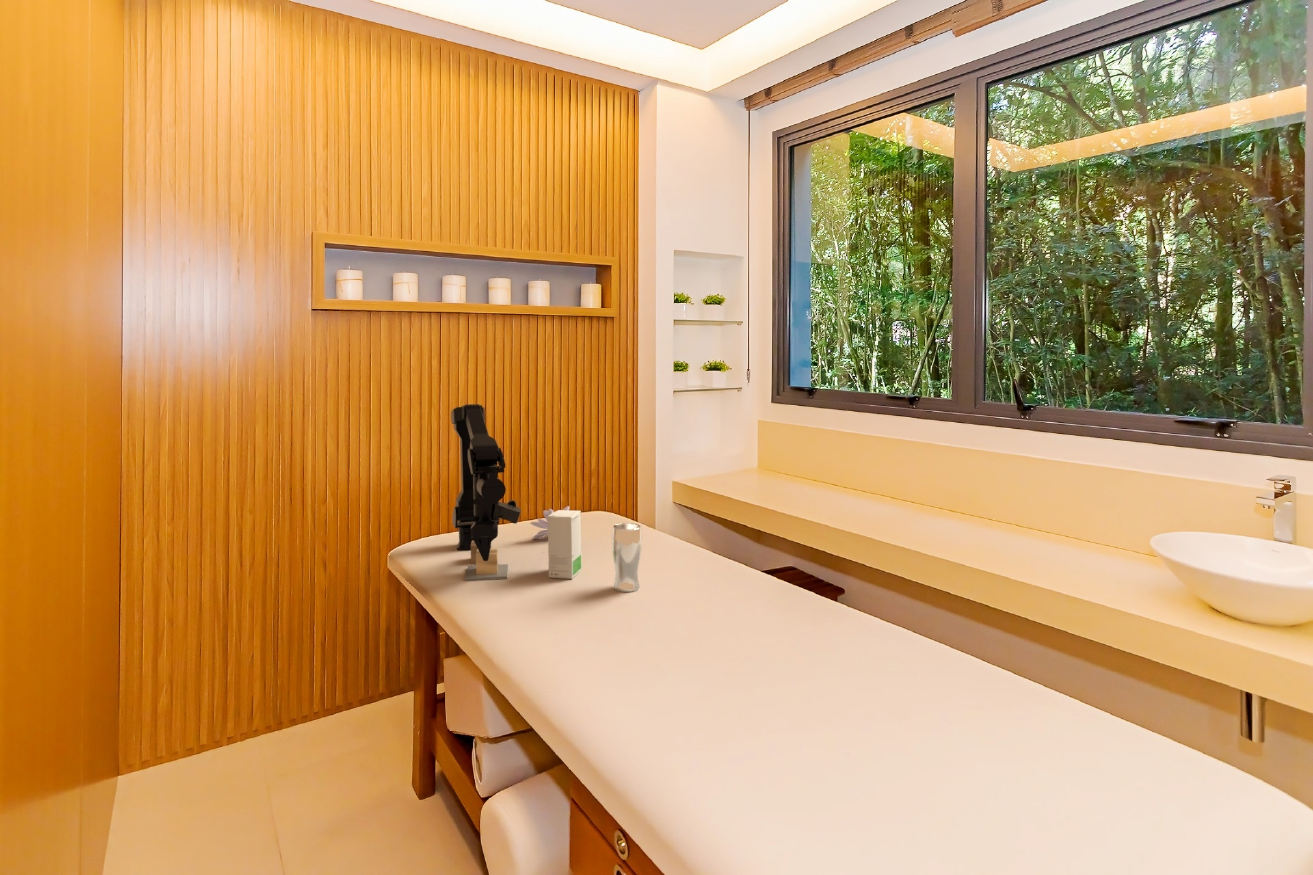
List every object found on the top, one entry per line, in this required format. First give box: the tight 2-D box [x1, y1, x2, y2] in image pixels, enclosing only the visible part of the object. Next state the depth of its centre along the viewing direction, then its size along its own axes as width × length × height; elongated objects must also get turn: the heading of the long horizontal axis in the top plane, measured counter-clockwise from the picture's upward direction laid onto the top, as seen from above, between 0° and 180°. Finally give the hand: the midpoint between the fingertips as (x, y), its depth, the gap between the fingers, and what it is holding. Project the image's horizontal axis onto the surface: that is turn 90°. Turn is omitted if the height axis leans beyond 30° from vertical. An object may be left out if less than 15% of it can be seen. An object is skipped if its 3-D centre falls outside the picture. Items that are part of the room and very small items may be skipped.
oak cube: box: [475, 547, 499, 575], centre depth 181 cm, size 5×5×5 cm
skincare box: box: [547, 509, 583, 580], centre depth 181 cm, size 8×7×16 cm
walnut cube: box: [470, 541, 492, 565], centre depth 191 cm, size 5×5×5 cm
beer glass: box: [611, 522, 643, 593], centre depth 171 cm, size 7×7×15 cm
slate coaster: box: [464, 563, 509, 582], centre depth 181 cm, size 10×10×1 cm
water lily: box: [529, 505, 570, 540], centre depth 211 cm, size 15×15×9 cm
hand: (486, 555), depth 181 cm, fingers open, 9 cm apart
